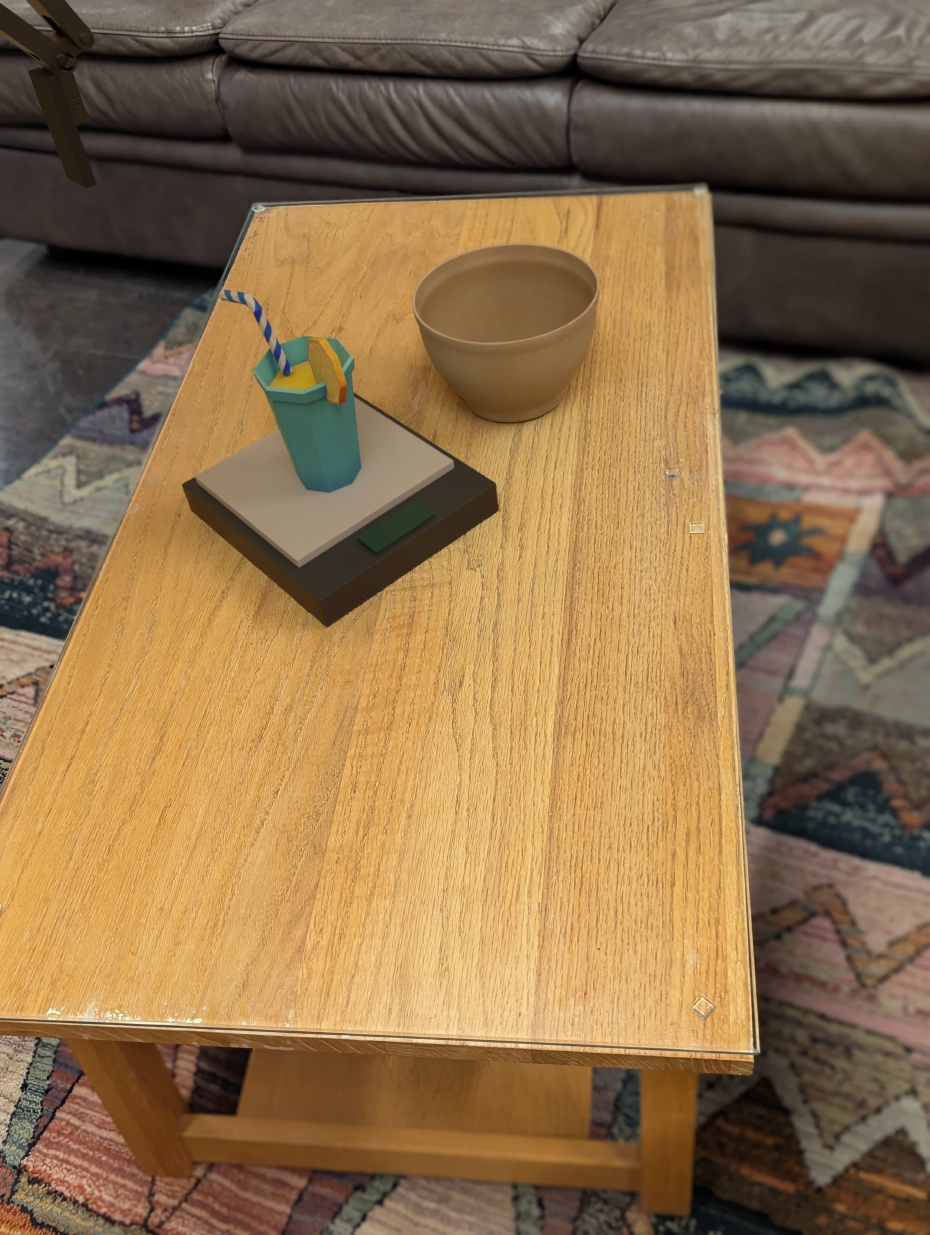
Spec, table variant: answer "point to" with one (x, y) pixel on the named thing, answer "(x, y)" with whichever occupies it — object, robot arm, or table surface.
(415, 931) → the table surface
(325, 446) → the cup
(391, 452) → the scale
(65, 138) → the robot arm
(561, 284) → the planter bowl
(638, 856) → the table surface
